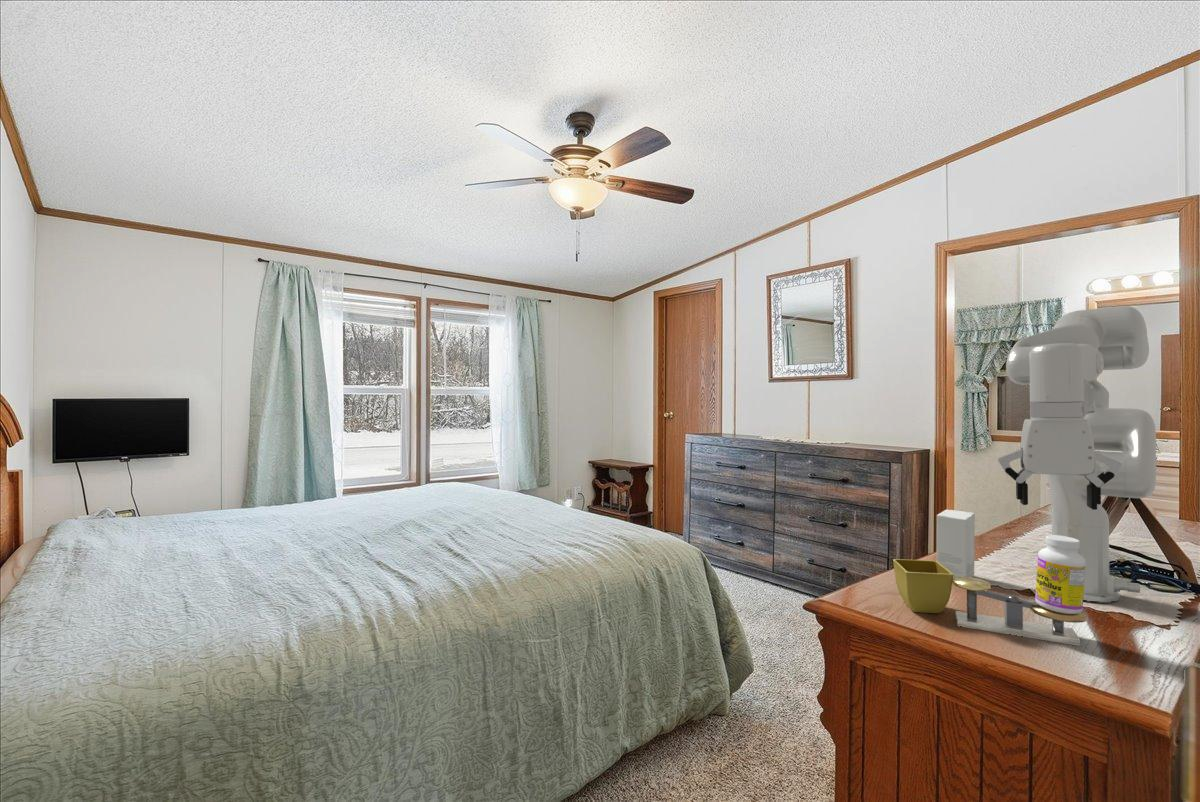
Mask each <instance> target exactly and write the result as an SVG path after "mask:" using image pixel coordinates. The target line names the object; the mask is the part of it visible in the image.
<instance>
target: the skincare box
mask: <svg viewBox="0 0 1200 802" xmlns="http://www.w3.org/2000/svg"><path fill="white" fill-rule="evenodd" d="M975 515H976V514H975V512H969V511H963V510H962V511H961V510H955V509H948V508H947V509H945V510H942V511H941V512H939V513H938V514H936V561H937V562H939V563H940V564H941V565H943V566H944V567H945V568H946V569H948V570H949V571H950V572H952V573H953V578H955V577H973V578H974V576H975V528H976V527H975V522H976V520H975V517H976V516H975Z"/></svg>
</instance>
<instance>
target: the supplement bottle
mask: <svg viewBox="0 0 1200 802" xmlns="http://www.w3.org/2000/svg"><path fill="white" fill-rule="evenodd" d="M1045 545H1046V547H1044V548H1041V549H1040V550H1039V551H1038V553H1037V566H1036V583H1035V597H1034V598H1035V599H1034V601H1036V603H1037V604H1038V605H1040V606H1042V607H1044V608H1046V609H1048V610H1051V611H1055V612H1059V613H1064V614H1079V613H1081V612H1082V610H1083V609H1084V608H1083V607H1084V601H1083V597H1084V582H1085V567H1086V561H1085V559H1084V557H1083V556H1081V555H1080V554H1078V549H1079V548H1080V541H1079V540H1077V539H1074V538H1071V537H1066V536H1060V535H1052V534H1048V535H1046V536H1045ZM1083 611H1084V610H1083Z"/></svg>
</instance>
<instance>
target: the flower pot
mask: <svg viewBox="0 0 1200 802" xmlns="http://www.w3.org/2000/svg"><path fill="white" fill-rule="evenodd" d="M892 560H893V569H894V577H895V585H896V587H897V590H898V592H899V595H900V596H901V598H902V600H903V603H905V604H906V606H907V607H908V608H909V609H910V610H911V612H914V613H925V614H926V613H927V614H928V613H929V614H941V612H943V611H944V609H945V608H946V606H947V605H948V603H949V601H950V598H951V593H952V586H953V573H952V572H950V571H949V570H948V569H946V568H945V567H944V566H943V565H941V564H940V563H939V562H937V560H930V559H929V560H927V559H924V560H923V559H906V558H905V559H904V558H903V559H902V558H901V559H899V558H894V559H892Z"/></svg>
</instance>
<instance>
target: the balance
mask: <svg viewBox="0 0 1200 802" xmlns="http://www.w3.org/2000/svg"><path fill="white" fill-rule="evenodd" d="M952 585H954V586H955V587H958V588H960V589H962V590H963V589H964V590H966V611H959V610H955V620H957V621H956V624H957V627H960V626H962V627H961V628H965V629H966V628H967V629H973V630H979V631H986V632H991V633H998V634H1002V635H1003V634H1004V635H1009V634H1011V635H1010V636H1015V635H1017V637H1021V636H1023V637H1022V638H1029V639H1035V640H1041V641H1045V642H1052V643H1060V644H1063V645H1064V644H1066V645H1072V646H1077V647H1080V646H1081V641H1080V640H1081V639H1080V637H1079V636H1078V635H1077V633H1076V631H1075V630H1074V629H1073V628H1072V627H1065V626H1064V625H1065V623H1077V624H1078V623H1079V624H1081V623H1085V622H1087V621H1088V613H1087V611H1085V610H1082V612H1081V613H1079V614H1064V613H1059V612H1055V611H1051V610H1048V609H1046V608H1044V607H1042V606H1040V605H1038V604H1037V603H1036V600H1034V601H1028V600H1024V599H1020V598H1019V597H1018V596H1017V595H1014V594H1010V595H1006V594H1002V593H998V592H993V591H991V589H992V588H991V587H992V584H991V583H990V582H989V581H987V580H985V579H981V578H978V577H974V576H973V577H955V578H953V582H952ZM978 596H982V597H985V598H989V599H993V600H996V601H1000V602H1004V617H999V616H993V615H992V616H991V615H986V614H979V613H978V602H977V601H978V600H977V599H978ZM1023 608H1027V609H1029V610H1030V611H1031V612H1032V613H1034V614H1036V615H1038V616H1039V617H1040V616H1041V617H1043V618H1045V619H1049V620H1051V621H1052V624H1046V623H1041V622H1040V623H1039V622H1032V621H1026V620H1025V621H1024V617H1023V616H1024V609H1023Z"/></svg>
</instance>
